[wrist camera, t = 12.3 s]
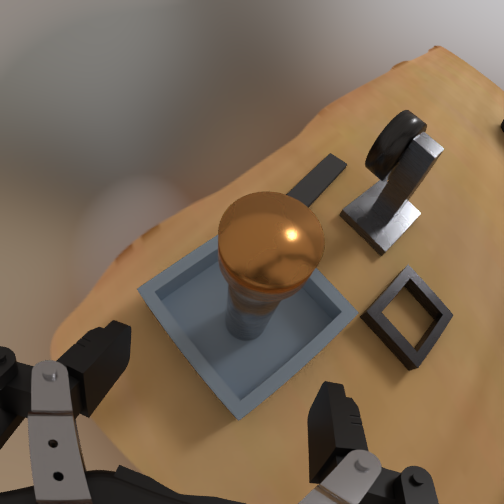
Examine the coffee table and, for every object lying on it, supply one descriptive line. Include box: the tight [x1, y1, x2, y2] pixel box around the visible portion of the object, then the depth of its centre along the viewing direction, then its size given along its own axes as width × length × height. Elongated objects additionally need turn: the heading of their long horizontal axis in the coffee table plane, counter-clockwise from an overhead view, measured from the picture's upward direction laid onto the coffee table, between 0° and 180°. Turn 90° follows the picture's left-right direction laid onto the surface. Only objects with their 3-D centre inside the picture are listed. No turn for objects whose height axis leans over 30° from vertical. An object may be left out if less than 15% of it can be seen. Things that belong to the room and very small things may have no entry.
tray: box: [137, 235, 358, 421], centre depth 24 cm, size 12×12×3 cm
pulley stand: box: [340, 110, 444, 256], centre depth 26 cm, size 8×7×12 cm
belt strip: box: [286, 153, 347, 207], centre depth 32 cm, size 14×2×1 cm, turn 140°
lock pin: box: [218, 192, 325, 341], centre depth 18 cm, size 4×4×13 cm
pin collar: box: [360, 265, 453, 371], centre depth 25 cm, size 7×7×2 cm
